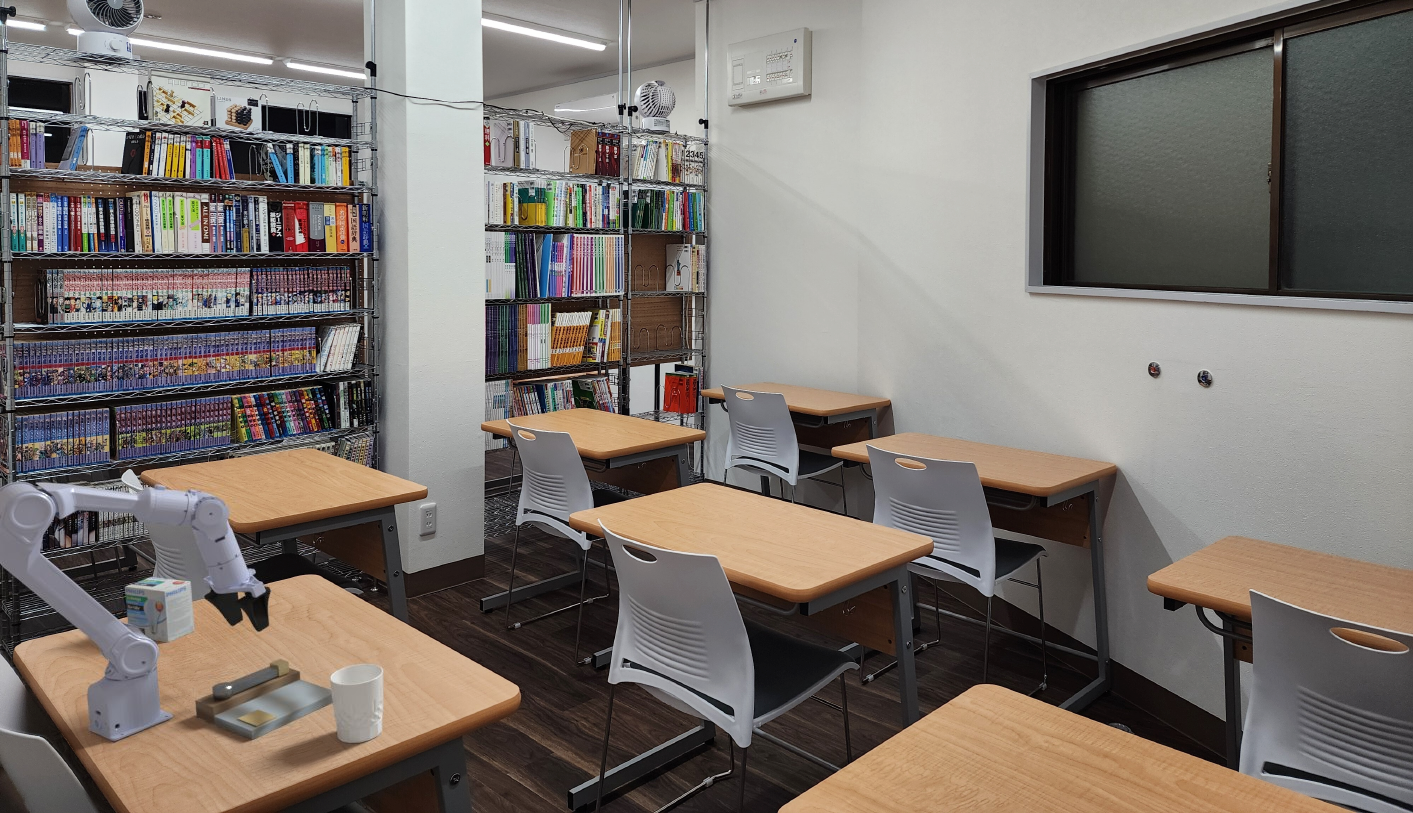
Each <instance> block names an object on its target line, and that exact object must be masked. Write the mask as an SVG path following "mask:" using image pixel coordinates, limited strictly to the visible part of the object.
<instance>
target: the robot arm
mask: <svg viewBox="0 0 1413 813" xmlns="http://www.w3.org/2000/svg"><path fill="white" fill-rule="evenodd" d="M35 484H36V485H38V486H39V487H40V488H38V487H37V486H35V485H33V484H32V483H29V482H28V481H27V482H26V481H15V482H14V481H13V482H10V483H7V484H5V485H2V487H0V565H1V566H2V568H4V569H5V570H6V571H7V572H9V573H10V574H11V575H12V576H13V577H14V578H16V579H17V580H19V581H20V582H21V583H22V584H23V585H25V587H27V588H28V589H30V591H32V593H33V592H34V594H36V595H37V596H38V597H39V598H40V599H41V600H43V601H44V602H45V603H46V604H48V605H49V606H50V607H51V608H52V609H53V610H55V611H56V612H57V613H59V615H61V616H63V617H64V618H65V619H66V620H67V621H69V623H70V624H72V625H73V626H74V627H75V628H77V629H78V630H80V631H81V632H82V634H84V635H85V636H86V637H88V638H89V639H90V640H92V641H93V642H94V643H95V644H96V645H97V646H98V647H99V651H100V653H101V655H102V657H104V659H106V660H107V661H108V663H107V665H106V667H105V669H104V676H103V677H101V679H99V680H98V681H96V682H94V683H92V684H90V685H89V686H88V688H87V693H86V695H87V696H86V697H87V698H86V699H87V705H88V706H87V707H88V709H87V710H88V717H89V726H88V727H87V730H88V731H90V732H93V733H94V734H96V735H99V736H101V737H103V738H105V739H108V740H110V741H112V742H116V741H119V740H121V739H124V738H127V737H128V736H132V735H133V734H136V733H138V732H141V731H143V730H146V729H149V728H151V727H154V726H156V725H158V724H161V723H163V722H165V721H167V720H170V719H172V718H174V715H173V713H170V712H168V711H165V710H163V709H162V708H161V699H160V688H159V678H158V677H159V676H158V667H157V663H158V660H159V656H160V649H159V647H158V645H157V643H156V642H155V640H151V639H149V638H148V637H146V636H145V635H144V634H143V633H142V632H141V630H140V629H139V628H138V627H136V626H135V625H132V624H128V623H126V622H123V621H121V620H120V619H118V618H117V617H116V616H115V615H114V614H112V613H111V612H110V611H109V610H108V609H107V608H105V607H104V606H103V605H102V604H101V603H99V602H98V601H97V600H95V598H94V597H92V596H91V595H90V594H89V593H88V592H87V591H86V590H84V589H83V588H82V587H81V586H79V585H78V584H77V583H76V582H75V581H73V580H72V579H71V578H70V577H69V576H68V575H66V574H65V573H64V572H63V571H62V570H61V569H60V568H58V567H57V566H56V565H55V564H54V563H52V562H51V561H50V560H49V559H48V558H47V557H46V556H44V555H43V554H42V553H41V546H42V543H43V537H44V534H45V533H46V531H47V529H48V528H49V527H50V526H51V524H52V521H53V520H54V518H55V517H56V518H58V519H59V520H62V519H64V518H66V517H68V516H70V515H72V514H73V513H75V512H76V511H87V512H88V511H91V512H104V513H105V512H107V513H116V514H117V513H119V514H120V513H121V514H132V515H133V516H134V517H135V519H136V520H137V521H138V522H139V523H146V524H156V525H168V526H176V527H184V526H186V525H187V526H188V525H190V526H191V527H190V528H191V531H192V533H193V536H194V538H195V543H196V545H197V548H198V550H199V552H200V555H201V557H202V560H203V561H204V565H205V568H206V571H207V573H208V576H206V577H204V578H203V579H202V580H203V583H204V585H205V588H206V589H209V590H210V591H209V592H207V593H206V594H205V595H204V596H203V597H204V599H205V600H206V601H208V602H209V603H210V604H211V605H212V606H214V607H215V608H216V609H217V611H218V612H220V614H221V616H222V617H223V618H224V619H225V621H226V622H227V623H228V624H229V625H230V626H231V627H235V626H236V625H238V624H240V623H241V622H243V621H244V616H243V612H244V613H245V615H246V616H247V618H248V619H249V621H250V623H251V626H252V627H253V628H254V630H255V631H256V632H257V633H260V632H262V631H263V630H265V629H267V628H268V627H270V619H269V618H270V617H269V600H270V596H271V591H272V590H271V588H270V587H269V586H264V583H263V581H259V580H258V579H257V578H256V577H255V576H254V575H255V574H256V570H255V568H248V567H247V565H246V561H245V560H244V557H243V555H242V551H241V549H240V546H239V544H238V541H237V538H236V537H235V533H234V531H233V529H232V527H231V526H230V522H229V520H228V519H229V517H230V506H228V505H226V503H225V501H223V500H222V499H221V498H220V497H217V496H215V495H213V494H211V493H208V492H205V491H201V490H196V489H189V488H188V489H187V491H183V490H176V489H174V490H173V489H169V488H168V489H166V488H167V487H166V486H165V485H163V484H158V483H157V484H154V487H149V486H148V487H144V488H143V489H141V490H139V491H137V492H135V493H131V492H125V491H117V490H111V489H110V490H109V489H106V488H105V489H104V488H98V487H97V488H96V487H89V486H84V485H77V484H76V485H75V484H69V483H59V482H58V483H54V482H35ZM239 593H244V595H243V596H241V597H240V598H239Z"/></svg>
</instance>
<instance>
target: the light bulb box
mask: <svg viewBox="0 0 1413 813" xmlns="http://www.w3.org/2000/svg"><path fill="white" fill-rule="evenodd" d="M124 591H125V592H124V593H125V603H126V616H127V624H132V625H135V626H136V627H138V628H139V629H140V630H141V632H142V633H143V634H144V635H145V636H146V637H148V638H149V639H151V640H153V641H157V642H164V643H171V642H172V641H175V640H177V639H180V638H181V637H184V636H187V635H188V634H191V633H193V632H195V624H194V623H195V621H194V609H193V606H194V605H193V598H192V597H193V595H192V583H191V581H190V580H180V579H173V578H172V579H171V578H162V577H154V576H151V577H147V578H145V579H142V580H139V581H137V582H134V583H131V584H129V585H126V586H124Z"/></svg>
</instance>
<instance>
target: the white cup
mask: <svg viewBox="0 0 1413 813" xmlns="http://www.w3.org/2000/svg"><path fill="white" fill-rule="evenodd" d="M329 681H330V690H331V692H332V701H333V703H332V708H333V713H334V714H333V715H334V721H335V723H336V733H337V739H338V740H340V741H341V742H343V743H345V744H346V743H347V744H357V743H358V744H360V743H363V742H364V743H365V742H367V741H371V740H373V739H374V738H377V737H379V735H381V733H382V732H383V715H384V669H383V668H382V666H379V665H377V664H372V663H359V664H354V665H353V664H351V665H348V666H344V667H342V668H340V669H337V670H336V671H334V672H332V674H331V675H330V677H329Z"/></svg>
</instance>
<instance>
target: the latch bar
mask: <svg viewBox="0 0 1413 813" xmlns="http://www.w3.org/2000/svg"><path fill="white" fill-rule="evenodd" d="M289 662H290V661H287V660H284V659H281V658H278V659H277V660H274V661H270V662H269V666H266V667H265V668H264V667H263V668H262V669H259V670H257V671H254V672H252V673H249V674H247V675H244V676H242V677H239V678H237V679H234V680H232V681H229V682H228V681H225V682H220V683H216V684H214V685H213V686H212V689H211V690H212V691H211V692H212V693H213V699H214V700H225V699H228V698H230V697H232V696H233V694H236V693H238V692H240V691H243V690H245V689H248V688H250V687H253V686H255V685H257V684H260V683H262V682H265V681H267V680H270V679H272V678H274V677H277V676H279V677H280V676H282V675H284V674H287V673H289V668H290V664H289Z"/></svg>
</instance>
